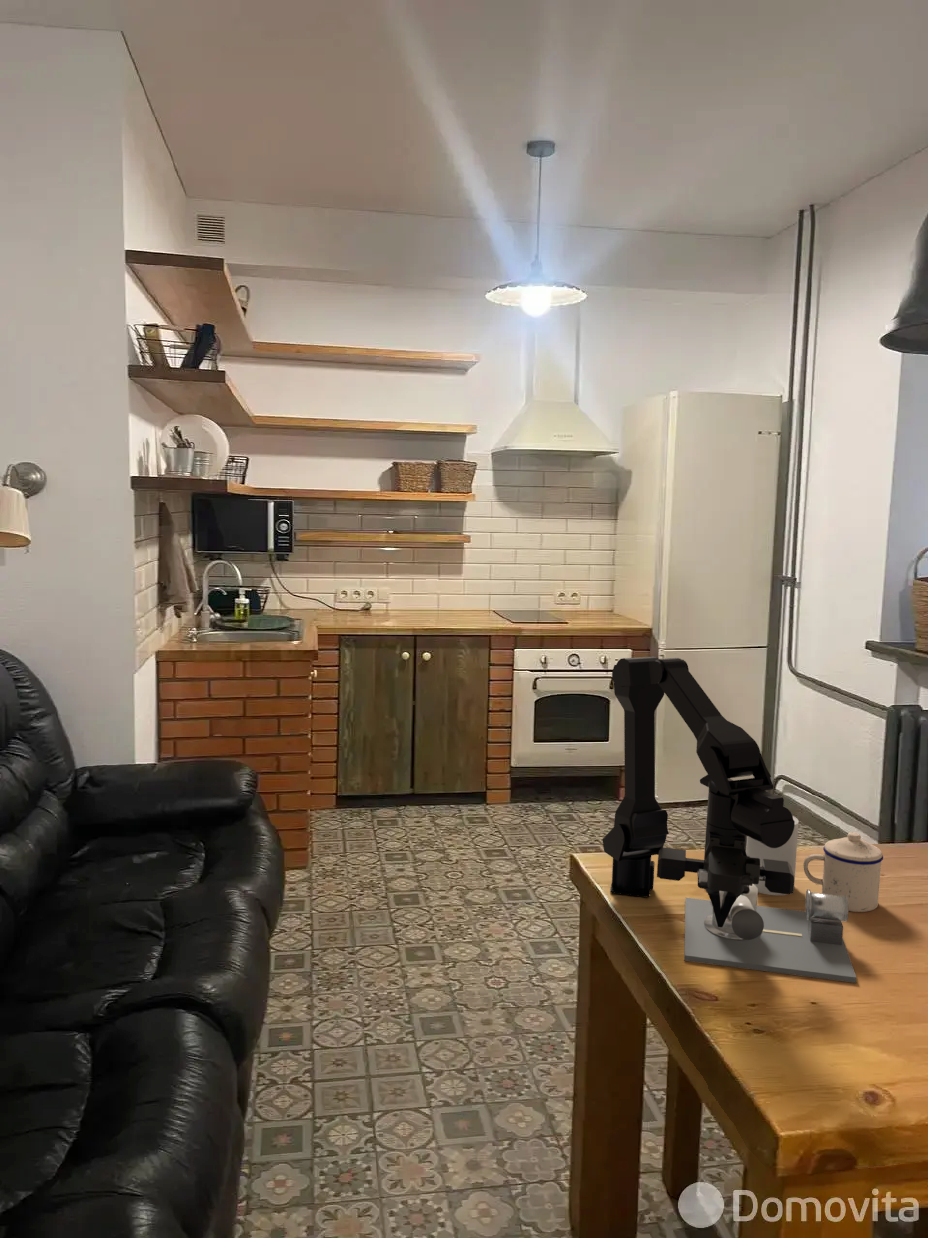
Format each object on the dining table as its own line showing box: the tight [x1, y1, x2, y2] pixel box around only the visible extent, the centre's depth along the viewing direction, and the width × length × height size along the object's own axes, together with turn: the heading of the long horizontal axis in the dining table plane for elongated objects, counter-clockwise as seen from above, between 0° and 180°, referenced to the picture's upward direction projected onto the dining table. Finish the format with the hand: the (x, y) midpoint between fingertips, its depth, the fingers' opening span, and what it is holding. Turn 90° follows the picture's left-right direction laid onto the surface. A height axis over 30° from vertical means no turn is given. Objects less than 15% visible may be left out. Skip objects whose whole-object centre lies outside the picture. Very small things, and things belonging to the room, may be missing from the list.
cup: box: [746, 815, 799, 896], centre depth 158 cm, size 8×8×12 cm
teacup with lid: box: [803, 831, 884, 913], centre depth 153 cm, size 12×9×12 cm
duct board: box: [683, 897, 858, 984], centre depth 139 cm, size 23×20×1 cm
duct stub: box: [704, 910, 745, 940], centre depth 141 cm, size 8×8×3 cm
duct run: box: [804, 889, 849, 945], centre depth 137 cm, size 6×4×7 cm
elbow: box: [709, 884, 764, 940], centre depth 137 cm, size 13×7×4 cm, turn 175°
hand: (720, 926), depth 134 cm, fingers closed
